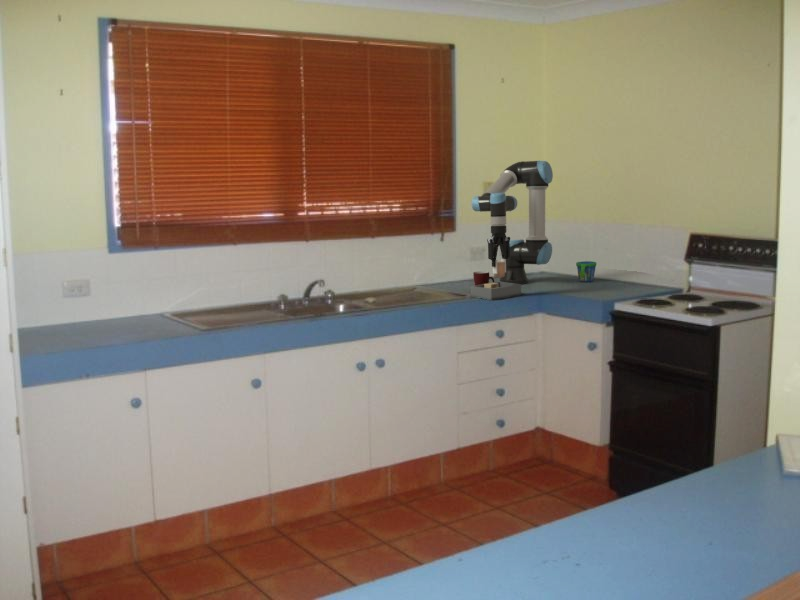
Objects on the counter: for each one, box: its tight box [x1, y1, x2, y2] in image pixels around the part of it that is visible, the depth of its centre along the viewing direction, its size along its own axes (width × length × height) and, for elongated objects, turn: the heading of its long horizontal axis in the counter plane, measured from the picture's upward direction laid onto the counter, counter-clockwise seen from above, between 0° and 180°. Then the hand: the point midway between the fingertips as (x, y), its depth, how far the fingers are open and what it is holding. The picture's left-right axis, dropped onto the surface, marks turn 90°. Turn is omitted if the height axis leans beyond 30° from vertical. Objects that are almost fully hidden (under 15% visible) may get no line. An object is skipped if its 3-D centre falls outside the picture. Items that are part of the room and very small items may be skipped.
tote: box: [469, 281, 522, 301], centre depth 442 cm, size 20×15×6 cm
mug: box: [473, 270, 495, 286], centre depth 459 cm, size 11×8×10 cm
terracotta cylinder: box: [493, 261, 505, 278], centre depth 438 cm, size 5×5×7 cm
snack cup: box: [576, 260, 597, 283], centre depth 479 cm, size 16×10×10 cm
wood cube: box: [484, 282, 499, 289], centre depth 445 cm, size 5×5×5 cm
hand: (499, 272), depth 439 cm, fingers closed on terracotta cylinder, 5 cm apart
